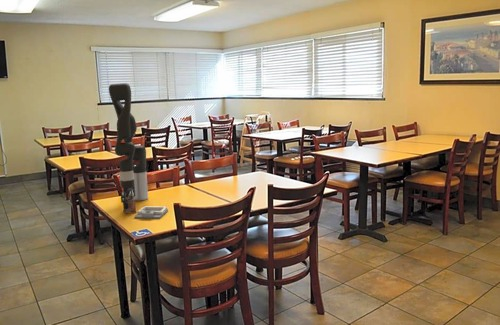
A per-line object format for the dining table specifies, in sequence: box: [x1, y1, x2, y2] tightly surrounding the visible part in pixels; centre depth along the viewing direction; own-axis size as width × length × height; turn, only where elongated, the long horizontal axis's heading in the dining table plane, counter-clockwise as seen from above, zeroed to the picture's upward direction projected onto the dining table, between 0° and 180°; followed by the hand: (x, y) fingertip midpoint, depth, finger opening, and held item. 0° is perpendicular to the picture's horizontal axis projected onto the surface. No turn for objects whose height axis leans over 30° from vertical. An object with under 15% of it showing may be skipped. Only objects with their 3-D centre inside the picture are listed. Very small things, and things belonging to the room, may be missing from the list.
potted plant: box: [122, 195, 137, 214], centre depth 236 cm, size 8×3×10 cm, turn 69°
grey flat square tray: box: [134, 205, 169, 220], centre depth 231 cm, size 14×14×3 cm
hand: (129, 207), depth 236 cm, fingers open, 8 cm apart
